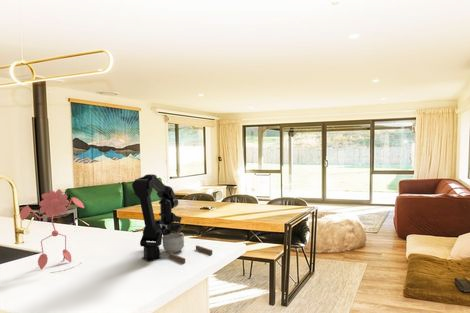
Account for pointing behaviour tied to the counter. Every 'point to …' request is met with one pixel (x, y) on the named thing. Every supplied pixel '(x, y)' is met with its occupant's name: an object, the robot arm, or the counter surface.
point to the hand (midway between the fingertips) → (166, 240)
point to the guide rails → (184, 258)
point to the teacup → (173, 242)
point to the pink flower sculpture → (52, 206)
